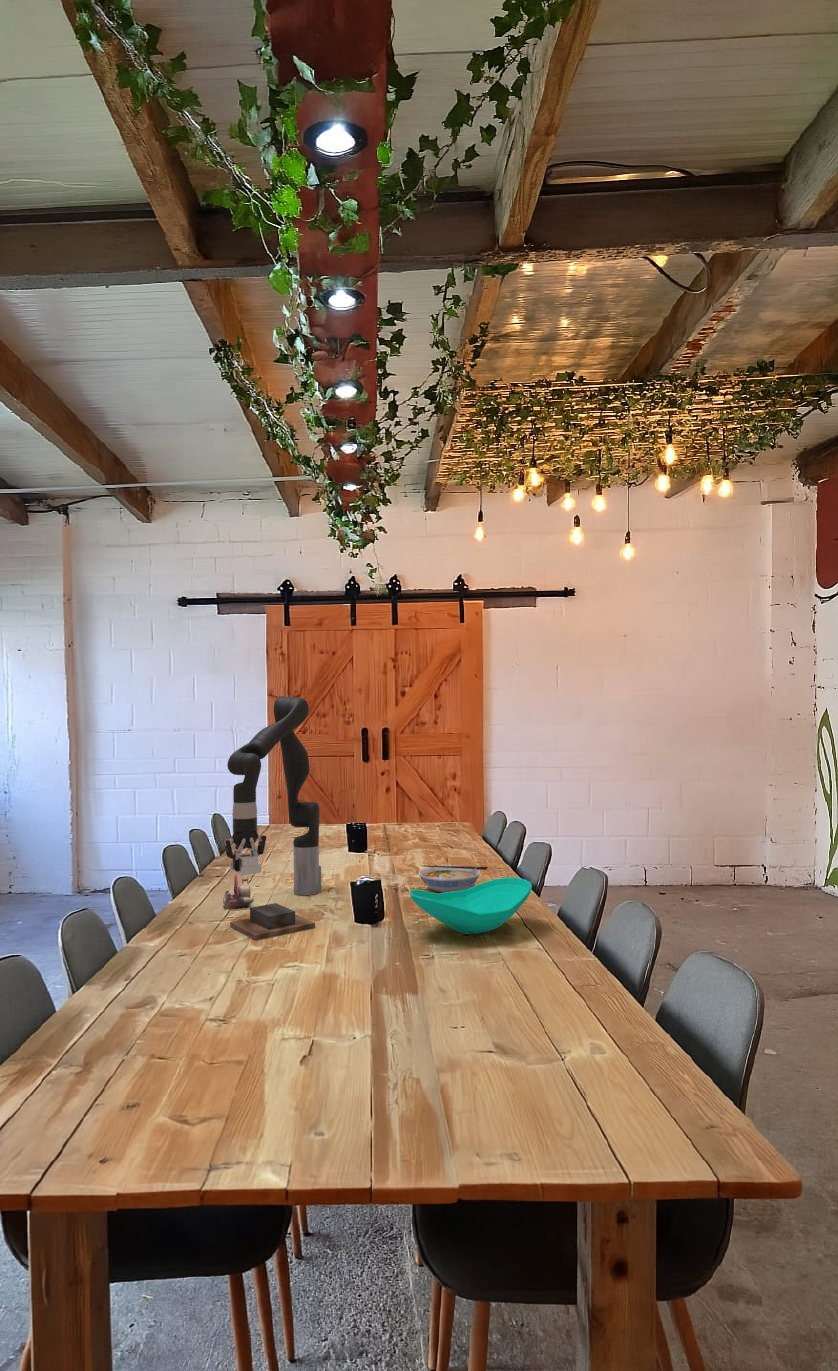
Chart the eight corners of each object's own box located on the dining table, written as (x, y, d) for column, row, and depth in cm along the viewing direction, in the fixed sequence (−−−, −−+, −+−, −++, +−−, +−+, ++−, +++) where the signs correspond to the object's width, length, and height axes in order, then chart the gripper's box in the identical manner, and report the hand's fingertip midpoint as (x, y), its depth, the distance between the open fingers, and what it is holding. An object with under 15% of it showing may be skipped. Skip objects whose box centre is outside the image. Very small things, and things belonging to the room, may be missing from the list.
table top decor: (434, 954, 214) (434, 905, 214) (393, 928, 239) (393, 885, 239) (553, 933, 231) (552, 889, 232) (503, 911, 256) (503, 871, 256)
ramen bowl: (407, 897, 276) (407, 874, 277) (425, 883, 298) (425, 861, 298) (476, 902, 269) (475, 878, 269) (489, 886, 291) (489, 864, 291)
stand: (287, 915, 255) (287, 898, 255) (315, 927, 241) (314, 909, 241) (230, 927, 243) (230, 909, 243) (255, 940, 229) (255, 921, 229)
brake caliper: (214, 897, 271) (235, 868, 273) (240, 914, 273) (261, 885, 276) (217, 905, 260) (239, 875, 263) (244, 922, 263) (265, 892, 265)
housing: (261, 872, 243) (261, 856, 243) (242, 875, 240) (241, 858, 240) (248, 867, 251) (248, 851, 252) (229, 870, 248) (229, 853, 248)
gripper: (227, 819, 239) (228, 875, 238) (270, 815, 247) (271, 868, 247) (218, 817, 245) (219, 871, 244) (260, 812, 253) (261, 865, 253)
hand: (245, 869), depth 246 cm, fingers closed on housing, 5 cm apart
